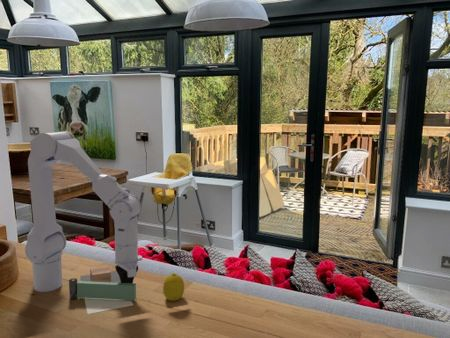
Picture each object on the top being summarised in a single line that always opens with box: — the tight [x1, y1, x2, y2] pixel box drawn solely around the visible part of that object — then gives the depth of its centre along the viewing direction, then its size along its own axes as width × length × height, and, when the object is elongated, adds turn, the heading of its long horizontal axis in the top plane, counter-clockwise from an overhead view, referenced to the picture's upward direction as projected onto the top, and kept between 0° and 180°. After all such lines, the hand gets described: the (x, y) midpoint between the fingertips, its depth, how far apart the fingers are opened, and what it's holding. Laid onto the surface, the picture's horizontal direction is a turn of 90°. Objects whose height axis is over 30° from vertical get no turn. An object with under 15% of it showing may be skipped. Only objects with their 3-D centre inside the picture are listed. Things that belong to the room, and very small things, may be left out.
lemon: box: [162, 272, 185, 302], centre depth 99 cm, size 6×6×8 cm
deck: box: [79, 270, 134, 315], centre depth 103 cm, size 22×11×1 cm, turn 25°
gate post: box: [68, 277, 79, 301], centre depth 98 cm, size 2×2×6 cm
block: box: [89, 265, 112, 282], centre depth 107 cm, size 5×5×4 cm
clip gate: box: [77, 280, 137, 301], centre depth 98 cm, size 1×15×4 cm, turn 87°
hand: (126, 291), depth 100 cm, fingers closed
